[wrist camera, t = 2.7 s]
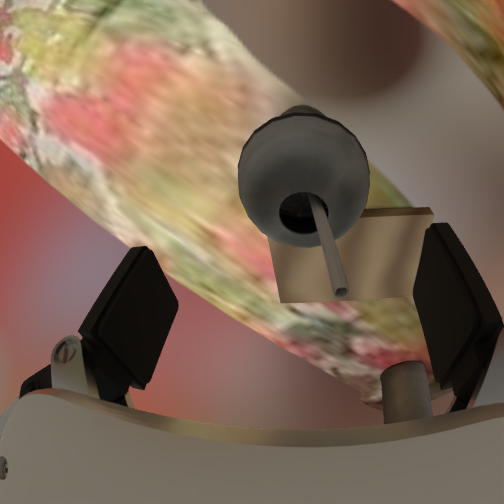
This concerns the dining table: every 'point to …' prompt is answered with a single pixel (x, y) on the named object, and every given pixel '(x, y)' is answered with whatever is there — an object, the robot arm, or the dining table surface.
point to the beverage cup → (305, 183)
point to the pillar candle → (405, 393)
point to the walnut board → (358, 259)
